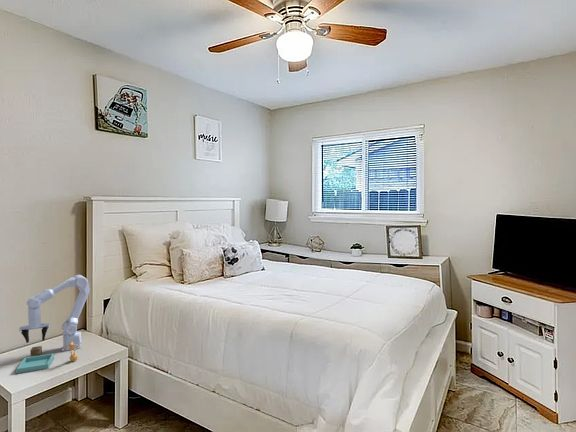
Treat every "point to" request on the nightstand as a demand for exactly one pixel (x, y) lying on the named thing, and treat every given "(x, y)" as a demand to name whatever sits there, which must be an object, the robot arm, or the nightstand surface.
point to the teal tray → (35, 363)
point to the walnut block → (36, 351)
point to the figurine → (73, 356)
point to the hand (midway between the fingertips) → (35, 341)
